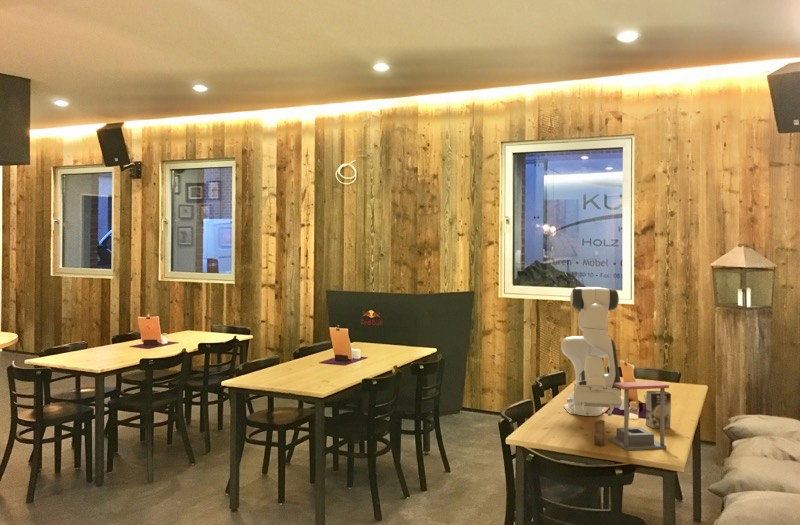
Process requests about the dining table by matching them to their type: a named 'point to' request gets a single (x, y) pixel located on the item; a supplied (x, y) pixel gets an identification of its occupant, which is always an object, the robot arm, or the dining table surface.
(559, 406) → the dining table surface
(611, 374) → the robot arm
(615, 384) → the socket stand
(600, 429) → the walnut peg
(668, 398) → the coffee box
